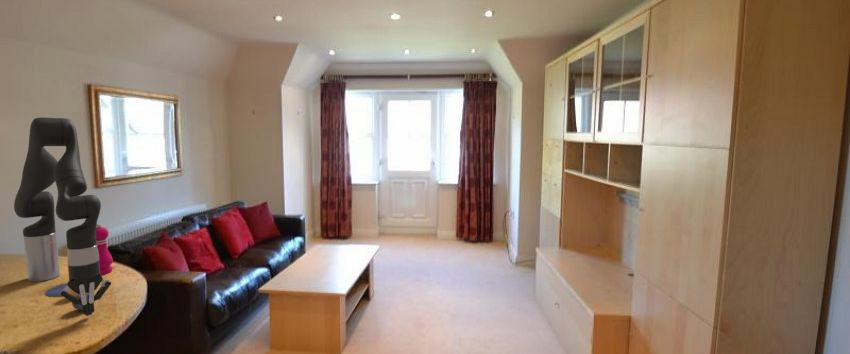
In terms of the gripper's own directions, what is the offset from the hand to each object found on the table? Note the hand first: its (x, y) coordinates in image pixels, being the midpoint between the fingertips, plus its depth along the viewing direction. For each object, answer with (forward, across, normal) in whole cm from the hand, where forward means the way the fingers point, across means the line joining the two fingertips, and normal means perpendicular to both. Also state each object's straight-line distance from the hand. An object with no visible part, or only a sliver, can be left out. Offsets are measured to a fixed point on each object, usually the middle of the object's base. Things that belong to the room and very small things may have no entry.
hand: (88, 314), depth 135 cm
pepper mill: (+2, -12, -45) cm, 47 cm away
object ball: (-1, 0, -22) cm, 23 cm away
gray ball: (-2, 0, -8) cm, 9 cm away
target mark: (+1, 0, -32) cm, 33 cm away
